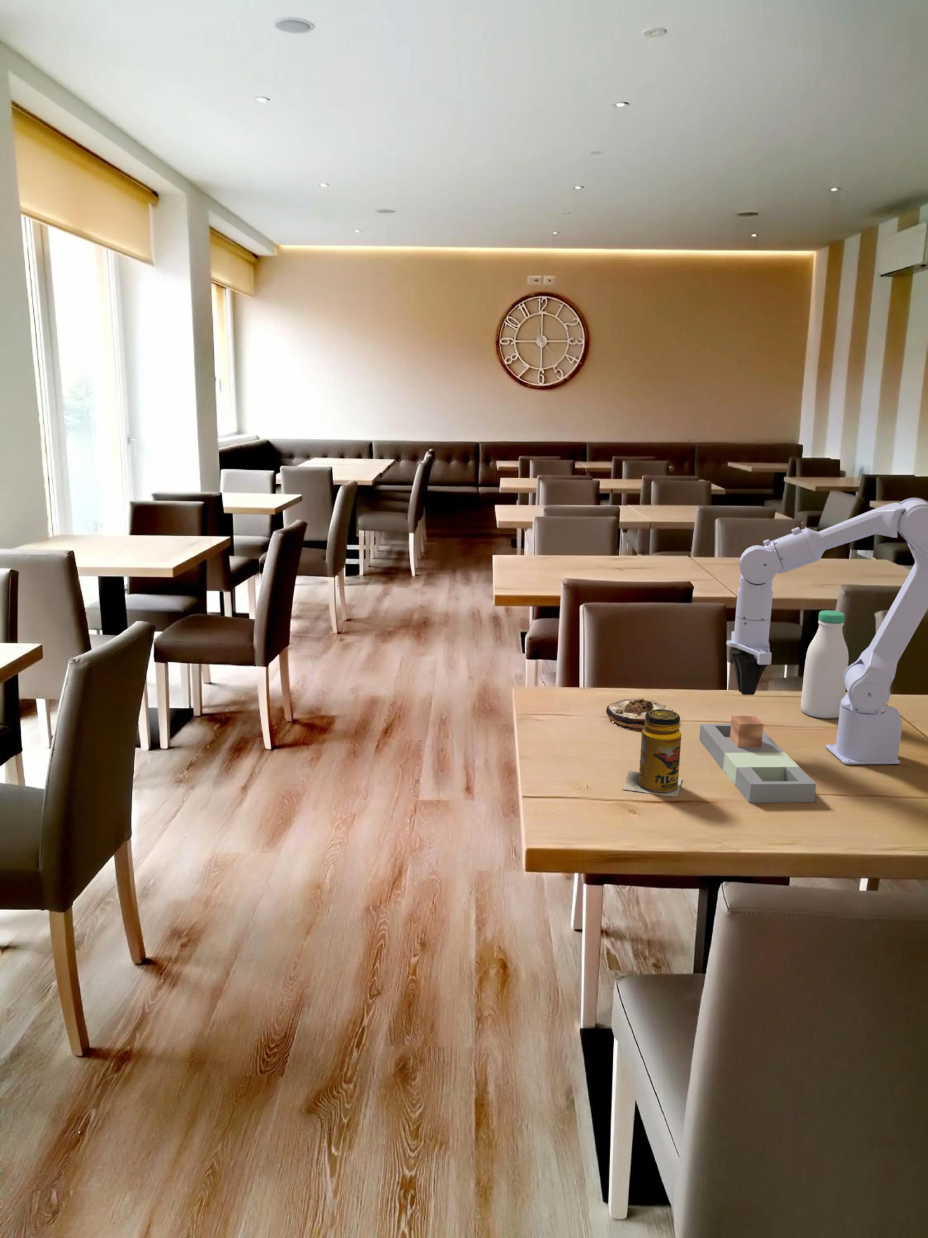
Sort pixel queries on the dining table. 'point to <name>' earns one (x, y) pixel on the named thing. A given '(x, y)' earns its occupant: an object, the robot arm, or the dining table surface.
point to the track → (758, 768)
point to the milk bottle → (825, 668)
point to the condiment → (658, 755)
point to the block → (746, 731)
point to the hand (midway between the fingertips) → (746, 693)
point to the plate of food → (632, 712)
